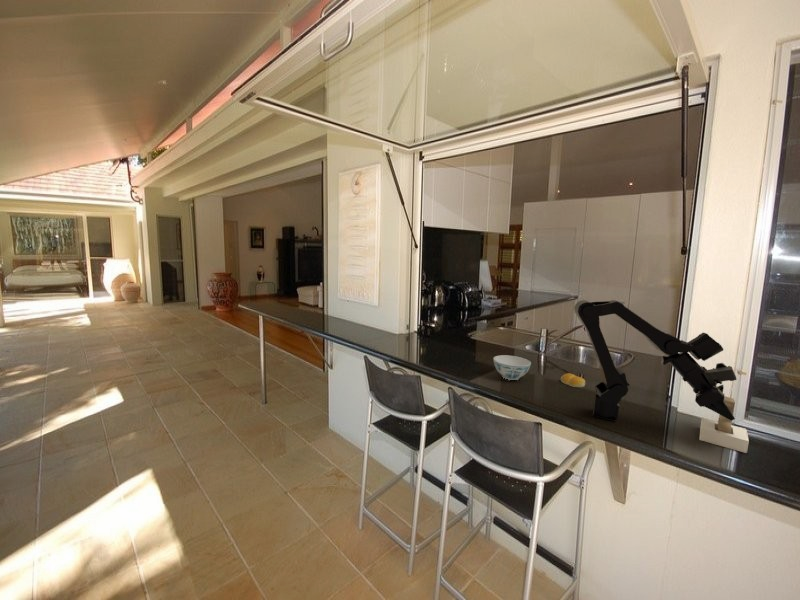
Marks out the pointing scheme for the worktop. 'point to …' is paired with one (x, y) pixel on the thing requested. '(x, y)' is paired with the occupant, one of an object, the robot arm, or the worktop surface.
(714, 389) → the robot arm
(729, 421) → the slat
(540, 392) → the worktop surface
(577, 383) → the bread roll
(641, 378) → the worktop surface
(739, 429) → the end cap
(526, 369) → the chinaware
